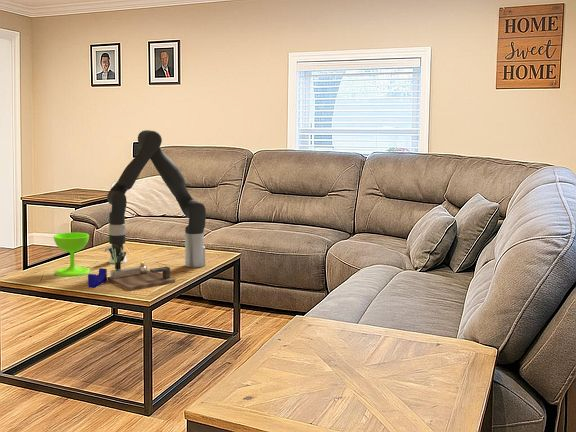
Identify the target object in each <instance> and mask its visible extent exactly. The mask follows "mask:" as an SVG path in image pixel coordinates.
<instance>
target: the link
mask: <svg viewBox="0 0 576 432" xmlns="http://www.w3.org/2000/svg"><path fill="white" fill-rule="evenodd" d="M147 271H148V265H145V262H143V261H142V262H140V265H138V266H133V267H126V268H121V269H118V270H116V269H113V270H110V274H109V275H110V277H112V278H119V277H125V276H131V275H137V274H146V273H147Z"/></svg>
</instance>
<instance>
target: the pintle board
mask: <svg viewBox="0 0 576 432" xmlns="http://www.w3.org/2000/svg"><path fill="white" fill-rule="evenodd" d="M161 272H162V273H161ZM107 282H111V283H112V284H115V285H117V286H119V287H120V288H123V289H125V290H127V291H135V290H141V289H146V288H151V287H157V286H162V285H163V286H164V285H167V284H175V283H176V278H174V277H171V267H169V266H161V267H156V268H155V267H154V268H150V269H149V270H147V273H146V274H137V275H131V276H125V277H119V278H112V277H111V276H109V277H108V276H107Z"/></svg>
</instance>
